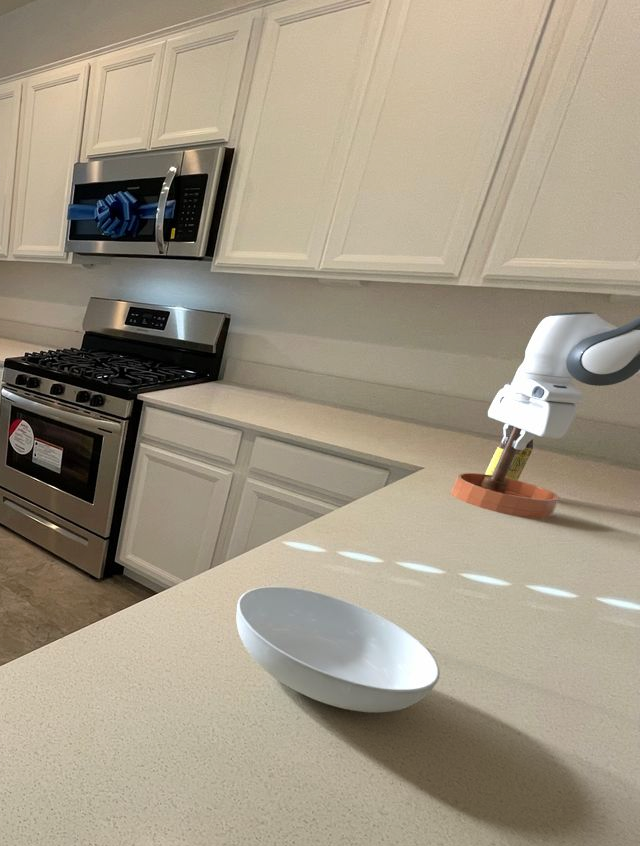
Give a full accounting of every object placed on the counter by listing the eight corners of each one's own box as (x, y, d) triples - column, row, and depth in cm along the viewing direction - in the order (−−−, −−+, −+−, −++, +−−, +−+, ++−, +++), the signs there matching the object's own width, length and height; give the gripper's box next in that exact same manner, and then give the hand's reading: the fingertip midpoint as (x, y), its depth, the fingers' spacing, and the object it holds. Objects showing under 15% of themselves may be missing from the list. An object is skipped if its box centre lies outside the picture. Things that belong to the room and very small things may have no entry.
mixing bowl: (540, 510, 138) (551, 486, 136) (554, 532, 125) (566, 507, 123) (446, 490, 147) (455, 467, 145) (450, 509, 135) (460, 485, 133)
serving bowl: (348, 761, 61) (370, 709, 59) (190, 644, 79) (202, 600, 77) (457, 712, 69) (480, 664, 67) (292, 615, 87) (305, 575, 85)
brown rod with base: (501, 489, 138) (532, 419, 132) (508, 494, 134) (541, 423, 128) (477, 484, 140) (507, 416, 134) (484, 490, 136) (515, 420, 130)
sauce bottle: (491, 491, 149) (524, 415, 142) (474, 482, 155) (504, 409, 148) (520, 494, 148) (554, 418, 141) (501, 485, 154) (533, 412, 147)
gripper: (492, 377, 138) (469, 433, 143) (553, 394, 120) (524, 457, 125) (524, 380, 137) (500, 437, 142) (591, 397, 118) (560, 461, 123)
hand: (512, 446), depth 133 cm, fingers closed on brown rod with base, 2 cm apart
